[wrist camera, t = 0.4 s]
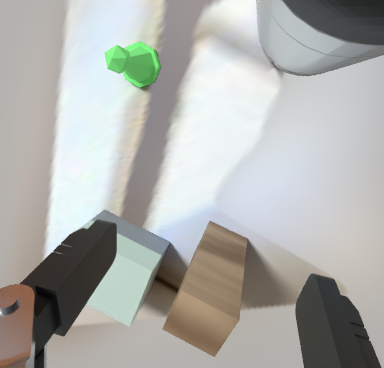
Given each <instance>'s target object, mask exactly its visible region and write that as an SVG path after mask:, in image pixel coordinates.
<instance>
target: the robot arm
mask: <svg viewBox="0 0 384 368" xmlns="http://www.w3.org/2000/svg"><path fill="white" fill-rule="evenodd" d="M256 4H257V21H258V32H259V38H260V43H261V45H262V48H263V50H264V53H265V54H266V56H267V57H268V58H269V60H270V61H271V62H272V63H273V64H274V65H275V66H276V67H277V68H279V69H281V70H283V71H285V72H286V73H290V74H294V75H299V76H311V75H316V74H321V73H325V72H328V71H332V70H335V69H339V68H342V67H345V66H348V65H352V64H355V63H358V62H362V61H365V60H368V59H371V58H375V57H378V56H381V55H384V0H256ZM116 253H117V225H116V223H113V222H109V221H105V220H101V219H97V220H96V221H95V222H94V223H93V224H92V225H91V226H90V227H89V228H88V229H86V228H81V229H79V230H77V231H75V232H73V233H72V234H70V235H69V236H68V237H67V238H66V239H65V240H64V241H63V242H62V243H61V245H59V246H58V247H57V248H56V249H55V250H54V252H53V253H51V254H50V255H49V256H48V257H47V258H46V259H45V260H44V261H43V262H42V263H41V264H40V265H39V266H37V268H35V269H34V271H32V273H30V274H29V275H28V276H27V277H26V278H25V279H24V280H23V281H22V282H21V283H20V284H15V285H9V286H6V287H3V288H1V289H0V368H46V358H47V357H46V356H47V344H46V343H47V342H48V341H49V339H50V338H51V336H52V335H53V334H54V333H55V334H57V335H60V336H65V335H66V333H67V332H68V330H69V329H70V327H71V326H72V324H73V323H74V321H75V320H76V318H77V317H78V315H79V314H80V312H81V311H82V309H83V308H84V306H85V305H86V303H87V302H88V300H89V299H90V297H91V296H92V294H93V293H94V291H95V290H96V288H97V287H98V285H99V284H100V282H101V281H102V279H103V278H104V276H105V275H106V273H107V272H108V270H109V269H110V267H111V266H112V264H113V262H114V260H115V257H116ZM296 320H297V327H298V333H299V339H300V345H301V351H302V357H303V363H304V368H381V366H380V363H379V361H378V358H377V356H376V353H375V351H374V348H373V346H372V344H371V341H369V336H368V334H367V331H366V329H365V328H364V324H363V322H362V319H361V317H360V315H359V312H358V310H357V309H356V308H355V306H354V305H353V304H352V302H351V301H350V300H349V299H348V298H347V297H346V296H342V295H340V292H339V290H338V287H337V284H336V282H335V280H334V279H332V278H329V277H325V276H321V275H317V274H311V275H310V276H309V277H308V279H307V281H306V283H305V285H304V287H303V289H302V291H301V293H300V295H299V297H298V299H297V303H296Z"/></svg>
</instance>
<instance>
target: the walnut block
mask: <svg viewBox="0 0 384 368" xmlns="http://www.w3.org/2000/svg"><path fill="white" fill-rule="evenodd" d="M247 240H248V239H247V238H245V237H243V236H241V235H239V234H236V233H234V232H232V231H230V230H228V229H226V228H224V227H222V226H220V225H218V224H215V223H213V222H211V221H210V222H209V224H208V226H207V228H206V230H205V232H204V234H203V236H202V238H201V240H200V243H199V245H198V247H197V249H196V251H195V253H194V256H193V258H192V260H191V263H190V265H189V267H188V270H187V272H186V275H185V277H184V279H183V282H182V284H181V286H180V289H179V291H178V293H177V296H176V298H175V301H174V303H173V305H172V308H171V310H170V312H169V315H168V317H167V319H166V322H165V324H164V327H163V330H165V331H167V332H169V333H170V334H172V335H174V336H176V337H178V338H180V339H182V340H184V341H185V342H187V343H189V344H191V345H193V346H195V347H197V348H199V349H201V350H202V351H204V352H206V353H208V354H210V355H212V356H214V357H215V355H216V354H217V352H218V351H219V349H220V348H221V346H222V345H223V343H224V342H225V341H226V339H227V338H228V336H229V335H230V333H231V332H232V330H233V328H234V327H235V325H236V324H237V323H238V321H239V317H240V307H241V298H242V288H243V278H244V269H245V259H246V250H247Z"/></svg>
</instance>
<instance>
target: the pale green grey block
mask: <svg viewBox="0 0 384 368" xmlns="http://www.w3.org/2000/svg"><path fill="white" fill-rule="evenodd" d="M97 219H101V220H105V221H109V222H113V223H116V225H117V253H116V257H115V260H114V262H113V264H112V266H111V267H110V269H109V270H108V272H107V273H106V275H105V276H104V278H103V279H102V281H101V282H100V284H99V285H98V287H97V288H96V290H95V291H94V293H93V294H92V296H91V297H90V299H89V300H88V302H87V303H86V304H88V305H90V306H92V307H94V308H95V309H97V310H99V311H101V312H103V313H105V314H106V315H108V316H110V317H112V318H114V319H116V320H118V321H119V322H121V323H123V324H125V325H127V326H129V327H130V326H131V324H132V322H133V320H134V319H135V317H136V315H137V313H138V312H139V310H140V308H141V306H142V304H143V303H144V301H145V299H146V297H147V296H148V294H149V292H150V289H151V287H152V285H153V282H154V280H155V277H156V275H157V273H158V270H159V268H160V265H161V263H162V261H163V258H164V256H165V253H166V251H167V248H168V246H169V244H170V242H169V241H167V240H165V239H163V238H161V237H159V236H157V235H155V234H152V233H150V232H148V231H146V230H144V229H142V228H140V227H138V226H136V225H134V224H132V223H130V222H128V221H126V220H124V219H122V218H120V217H118V216H116V215H114V214H112V213H110V212H108V211H106V210H104V211H102V212H101V213H100V214H98V215H97V216H96V217H94V218H93V219H92V220H90V221H89V222H87V223H86V224H85V225H83V226H82V227H81V228H86V229H88V228H89V227H90V226H91V225H92V224H93V223H94V222H95V221H96V220H97ZM81 228H79V229H81ZM79 229H78V230H79Z"/></svg>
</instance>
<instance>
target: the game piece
mask: <svg viewBox="0 0 384 368" xmlns="http://www.w3.org/2000/svg"><path fill="white" fill-rule="evenodd" d="M105 56H106V62H107V68H108V69H110V70H112V71H114V72H117V73H119V74H120V73H122V72H123V73H124V76H125V79H126V80H127V81H129V82H131V83H132V84H134V85H136V86H138V87H144V86H147V85H149V84H152V83H155V81H156V79H157V76H158V74H159V71H160V69H161V65H160V62H159V58H158V55H157V52H156V50H154V49H152V48H151V47H149V46H147V45H145V44H144V43H142V42H137V43H135V44H132V45H130V46H128V47H126V48H125V49H124V48H122V47H120V46H118V45H116V46H115V47H113V48H111V49H109V50H108V51H106V52H105Z"/></svg>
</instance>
